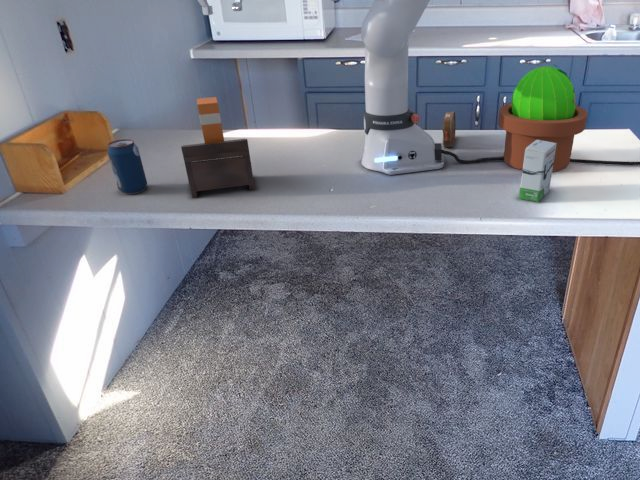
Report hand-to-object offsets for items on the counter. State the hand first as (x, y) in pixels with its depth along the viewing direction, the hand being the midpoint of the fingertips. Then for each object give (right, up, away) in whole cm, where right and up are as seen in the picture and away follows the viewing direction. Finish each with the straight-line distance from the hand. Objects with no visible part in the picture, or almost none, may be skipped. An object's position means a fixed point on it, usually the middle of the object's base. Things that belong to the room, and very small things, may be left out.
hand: (223, 12), depth 127 cm
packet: (-3, -30, +5) cm, 31 cm away
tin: (+57, -21, +36) cm, 71 cm away
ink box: (+73, -42, +1) cm, 84 cm away
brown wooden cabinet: (-3, -39, +10) cm, 40 cm away
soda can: (-25, -40, +9) cm, 48 cm away
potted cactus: (+79, -30, +21) cm, 87 cm away
